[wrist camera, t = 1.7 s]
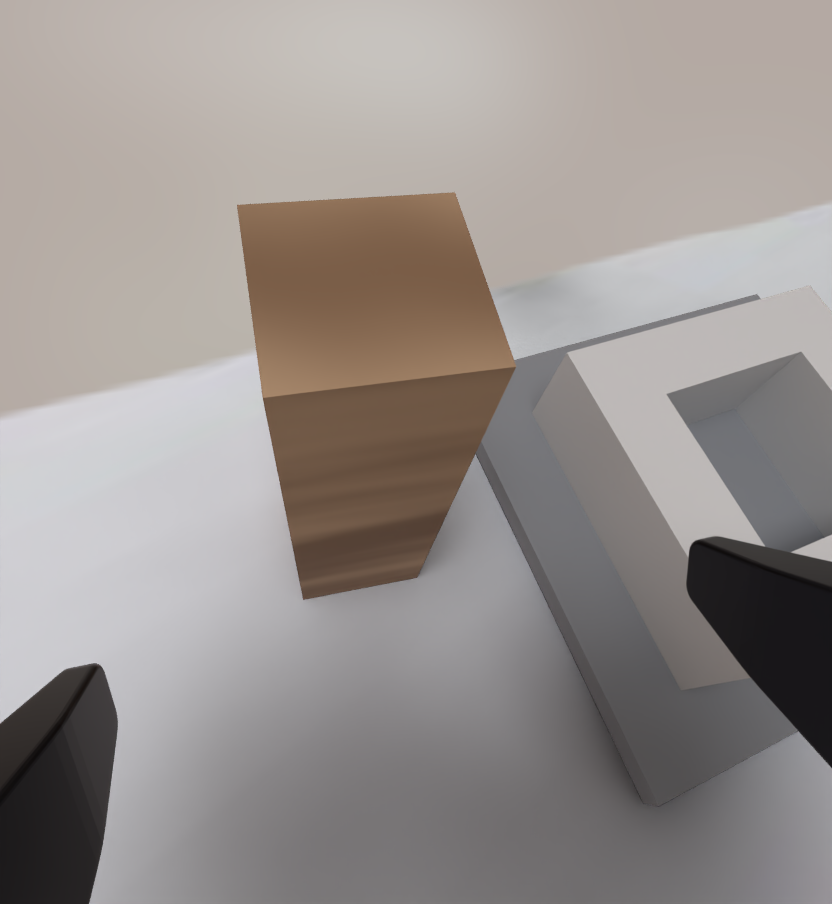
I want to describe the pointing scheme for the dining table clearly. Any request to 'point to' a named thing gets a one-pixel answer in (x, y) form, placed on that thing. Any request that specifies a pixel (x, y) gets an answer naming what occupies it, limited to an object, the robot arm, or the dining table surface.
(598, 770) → the dining table surface
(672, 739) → the socket board
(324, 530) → the walnut peg
